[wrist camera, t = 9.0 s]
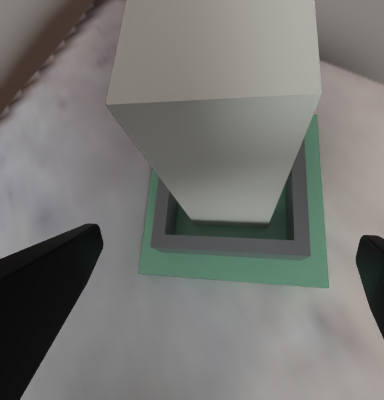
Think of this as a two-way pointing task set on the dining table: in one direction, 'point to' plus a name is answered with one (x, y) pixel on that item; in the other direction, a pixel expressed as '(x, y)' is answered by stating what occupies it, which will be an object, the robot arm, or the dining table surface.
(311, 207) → the green and grey tray
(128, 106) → the white rectangular block
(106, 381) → the dining table surface
